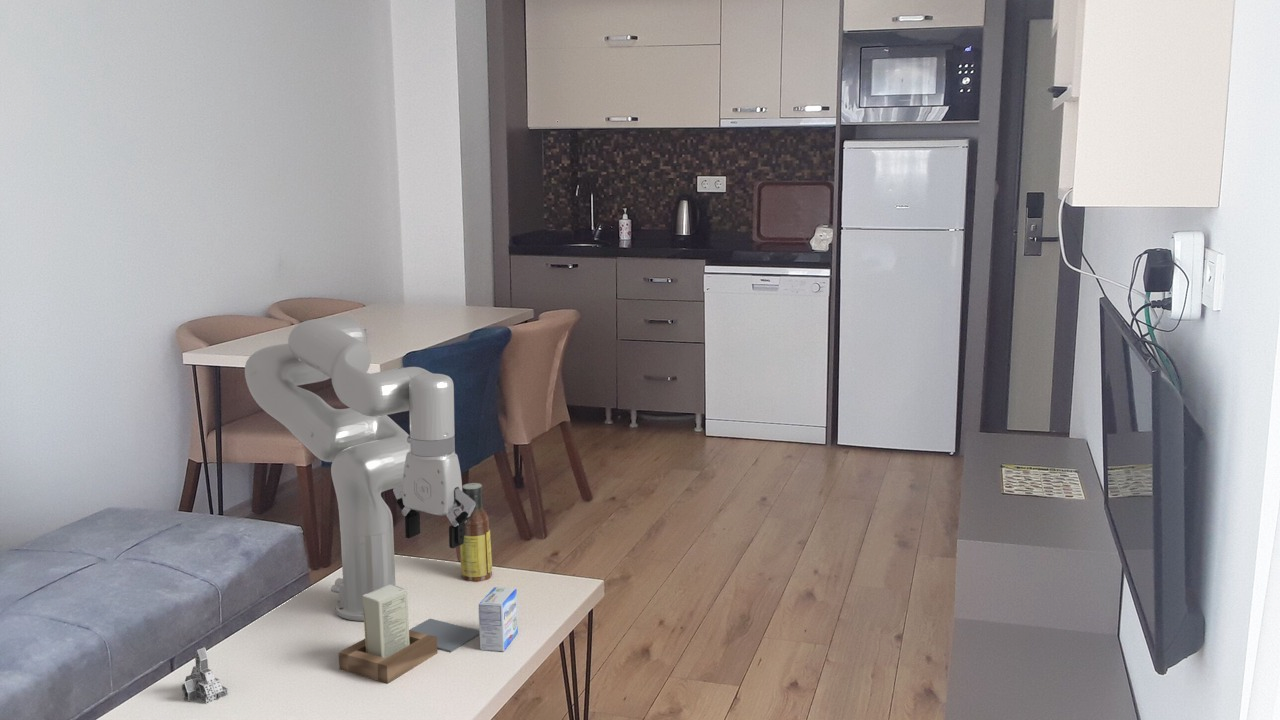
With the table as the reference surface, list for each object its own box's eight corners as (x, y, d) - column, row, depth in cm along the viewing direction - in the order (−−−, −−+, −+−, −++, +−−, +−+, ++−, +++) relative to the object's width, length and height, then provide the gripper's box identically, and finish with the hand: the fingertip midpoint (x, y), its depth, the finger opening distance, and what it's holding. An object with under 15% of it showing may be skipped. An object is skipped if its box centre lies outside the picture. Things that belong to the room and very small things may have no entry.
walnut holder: (339, 669, 173) (338, 652, 173) (390, 641, 184) (390, 625, 184) (387, 683, 168) (386, 665, 168) (437, 653, 179) (436, 636, 179)
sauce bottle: (478, 571, 218) (475, 478, 214) (499, 578, 214) (496, 483, 210) (453, 580, 213) (450, 485, 209) (474, 587, 209) (471, 491, 205)
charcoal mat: (396, 638, 185) (396, 636, 185) (430, 620, 193) (429, 618, 193) (450, 652, 180) (450, 650, 179) (482, 633, 187) (482, 631, 187)
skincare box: (394, 650, 180) (391, 583, 178) (411, 657, 178) (408, 589, 176) (364, 663, 176) (361, 594, 174) (381, 671, 173) (378, 600, 171)
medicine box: (504, 652, 180) (502, 604, 178) (479, 650, 180) (477, 602, 179) (518, 633, 187) (517, 587, 186) (494, 631, 188) (493, 585, 187)
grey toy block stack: (146, 700, 164) (142, 653, 163) (199, 680, 171) (196, 635, 169) (176, 718, 158) (172, 670, 157) (229, 696, 165) (226, 650, 164)
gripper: (379, 444, 182) (381, 538, 185) (459, 458, 173) (460, 556, 176) (408, 434, 188) (410, 526, 191) (486, 448, 180) (487, 543, 183)
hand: (434, 540), depth 184 cm, fingers open, 9 cm apart
